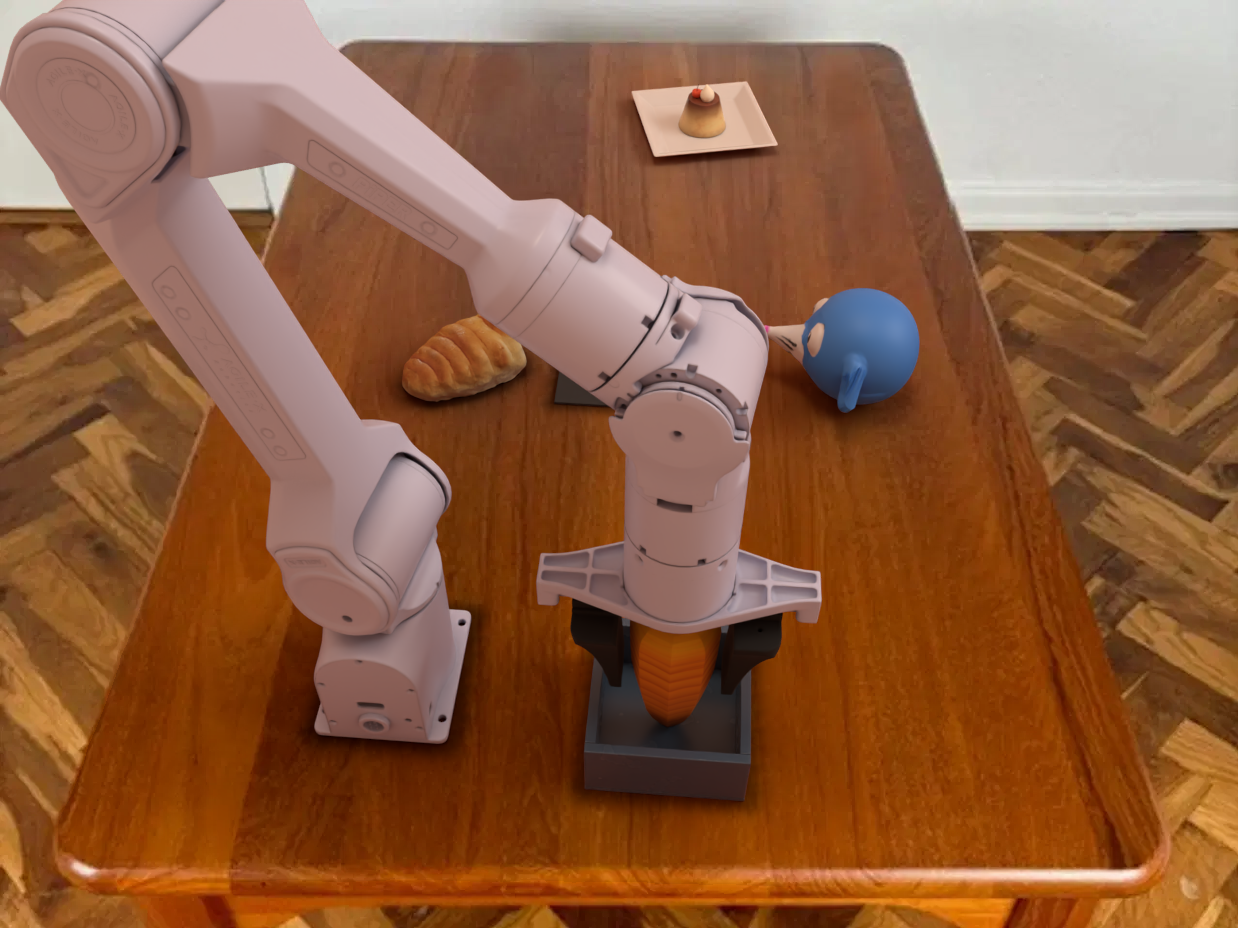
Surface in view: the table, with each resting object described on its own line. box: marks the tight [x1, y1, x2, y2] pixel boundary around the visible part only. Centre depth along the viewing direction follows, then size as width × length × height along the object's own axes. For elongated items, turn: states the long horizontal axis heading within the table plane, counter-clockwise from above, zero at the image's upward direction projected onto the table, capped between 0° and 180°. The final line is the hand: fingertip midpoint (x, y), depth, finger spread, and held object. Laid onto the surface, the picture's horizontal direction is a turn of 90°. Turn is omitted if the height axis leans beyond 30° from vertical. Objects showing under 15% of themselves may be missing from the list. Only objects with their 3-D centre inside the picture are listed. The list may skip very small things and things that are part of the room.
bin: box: [583, 617, 752, 802], centre depth 70 cm, size 9×9×4 cm
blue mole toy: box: [763, 287, 920, 414], centre depth 89 cm, size 12×12×8 cm
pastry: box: [401, 313, 527, 403], centre depth 91 cm, size 9×7×4 cm
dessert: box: [631, 80, 779, 158], centre depth 116 cm, size 12×12×5 cm
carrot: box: [630, 620, 721, 727], centre depth 66 cm, size 5×5×15 cm
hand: (671, 675), depth 68 cm, fingers open, 6 cm apart
